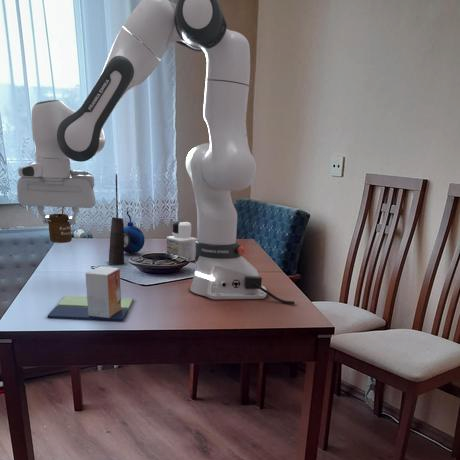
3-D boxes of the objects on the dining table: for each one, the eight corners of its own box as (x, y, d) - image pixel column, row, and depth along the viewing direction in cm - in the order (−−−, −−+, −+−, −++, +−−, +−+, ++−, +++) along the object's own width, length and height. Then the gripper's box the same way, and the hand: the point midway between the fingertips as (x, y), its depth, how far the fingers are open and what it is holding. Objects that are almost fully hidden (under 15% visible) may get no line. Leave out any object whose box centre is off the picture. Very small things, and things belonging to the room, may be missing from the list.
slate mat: (127, 311, 141) (127, 309, 141) (122, 321, 134) (122, 319, 133) (56, 308, 140) (56, 306, 140) (47, 318, 133) (47, 315, 133)
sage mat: (132, 301, 149) (132, 298, 149) (128, 309, 142) (128, 307, 142) (65, 297, 149) (65, 295, 148) (57, 306, 141) (57, 304, 141)
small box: (109, 318, 133) (107, 275, 128) (87, 316, 134) (84, 272, 129) (122, 309, 140) (120, 267, 135) (101, 307, 141) (98, 265, 136)
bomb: (110, 254, 199) (108, 210, 192) (127, 249, 208) (125, 207, 202) (134, 257, 196) (132, 213, 189) (149, 252, 205) (149, 210, 198)
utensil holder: (45, 242, 153) (40, 196, 148) (58, 238, 159) (54, 193, 153) (64, 244, 152) (59, 197, 146) (76, 240, 157) (72, 195, 152)
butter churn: (125, 268, 181) (122, 176, 169) (98, 265, 183) (93, 174, 170) (135, 262, 190) (133, 174, 177) (108, 260, 191) (104, 172, 178)
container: (166, 258, 198) (166, 220, 192) (182, 256, 203) (183, 219, 197) (180, 262, 193) (180, 224, 187) (196, 260, 198) (197, 222, 192)
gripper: (95, 170, 150) (99, 223, 156) (19, 167, 149) (26, 220, 156) (91, 172, 144) (95, 227, 151) (11, 169, 144) (19, 224, 150)
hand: (59, 223), depth 153 cm, fingers closed on utensil holder, 6 cm apart
